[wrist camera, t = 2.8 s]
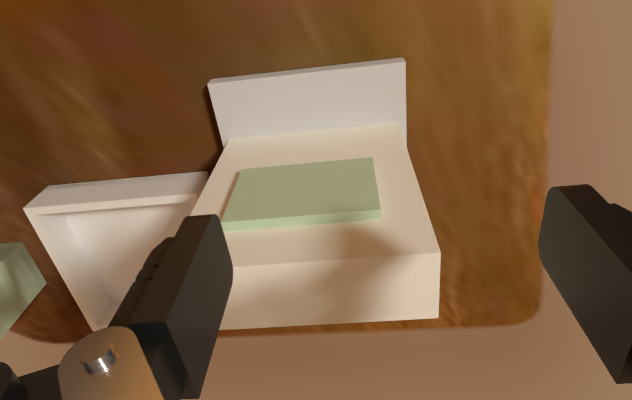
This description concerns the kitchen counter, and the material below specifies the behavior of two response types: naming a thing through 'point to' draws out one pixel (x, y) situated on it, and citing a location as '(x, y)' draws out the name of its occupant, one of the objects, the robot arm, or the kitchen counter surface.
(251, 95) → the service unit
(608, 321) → the robot arm
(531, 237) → the kitchen counter surface
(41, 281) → the sage block
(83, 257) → the tray
